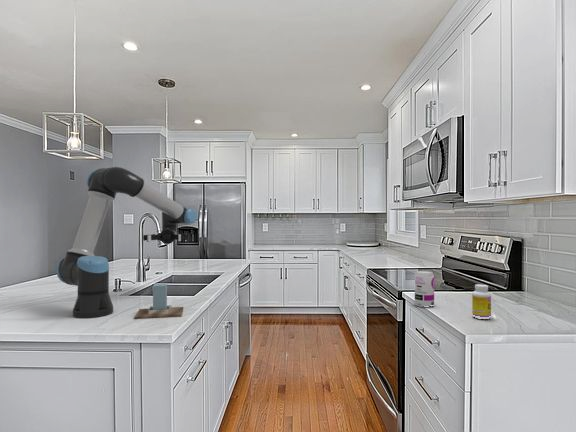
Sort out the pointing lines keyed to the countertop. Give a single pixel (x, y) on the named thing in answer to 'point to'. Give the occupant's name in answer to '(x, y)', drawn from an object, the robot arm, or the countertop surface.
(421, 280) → the supplement can
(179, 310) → the board
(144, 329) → the countertop surface
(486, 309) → the supplement bottle
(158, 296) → the blue-grey tall block
